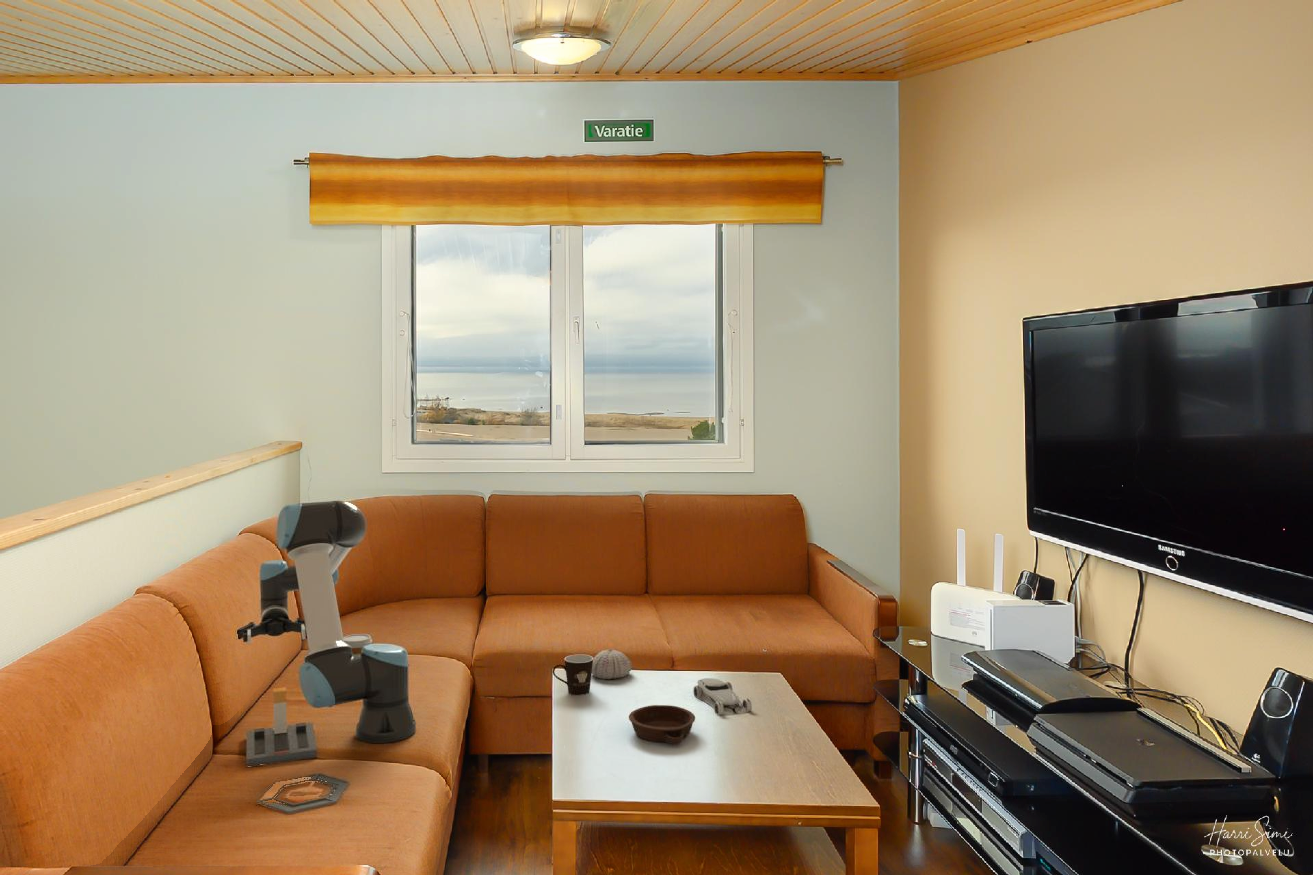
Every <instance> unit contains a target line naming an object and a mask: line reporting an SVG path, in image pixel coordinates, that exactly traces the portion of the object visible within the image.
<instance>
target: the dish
mask: <svg viewBox="0 0 1313 875" xmlns="http://www.w3.org/2000/svg"><path fill="white" fill-rule="evenodd" d="M628 720H629V721H630V722H631V726H632V728H633V730H634V733H635V734H636V735H637V736H638V737H639V738H641V739H644V740H646V741H651V742H663V743H664V742H666V743H669V744H671V745H679V744H681V743H682V742H683V739H685V738H686V737H687V736H688V735H689V734H690V732H691V730H692V728H693V724H694V722H696V716H695V714H694V713H693V712H692V711H690V710H688V709H686V708H684V707H680V706H676V705H669V704H668V705H666V704H665V705H663V704H662V705H661V704H660V705H659V704H652V705H646V706H642V707H640V708H636V709H635V710H633V711H631V712H630V713H629V714H628Z"/></svg>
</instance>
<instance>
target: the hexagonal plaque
mask: <svg viewBox="0 0 1313 875" xmlns="http://www.w3.org/2000/svg"><path fill="white" fill-rule="evenodd" d="M302 777H311V779H309V780H304V781H300V782H295V783H290V784H285V785H283V786H282V787H281V788H280V789H279V790H278V792H277V793H276V794H275V795H274V796H273V797H272V798H268V799H263V800H260V799H261V798H262V797H263V796H264V794H265V793H266V792H267V791H268V790H269V789H270V788H271V787H272V786H273V784H275V783H276V782H280V781H287V780H292V779H298V778H302ZM304 779H305V778H304ZM307 779H308V778H307ZM318 779H319V780H318ZM321 780H322V781H321ZM305 781H318V782H320V783H319V784H321V783H323V784H322V785H324V784H327V785H326V786H328V787H331V786H333V787H331V788H330V790H329V791H328V792H327V794H326V795H325V796H324V797H321V798H319V799H312V800H307V801H303V802H298V803H297V802H296V803H291V802H289V801H285V800H283V799H282V800H279V798H277V797H276V798H274V797H275V796H276V795H277V794H278V793H279V792H280V790H281V789H282V788H283V787H284V786H286V785H292V784H298V783H301V782H305ZM325 781H327V782H325ZM350 782H351V781H349V780H347V779H343V778H339V777H335V776H331V775H328V774H324V773H321V772H315V773H312V774H307V775H302V776H297V777H293V778H288V779H283V780H278V781H273V782H272V784H270V786H269V787H268V788H267V789H266V791H265V792H264V793H262V795H261V796H259V799H258V800H257V801H256V804H257V803H261V804H262V805H266V806H267V807H266V808H268V807H271V808H273V809H272V810H274V809H276V810H275V811H278V810H279V812H282V813H284V812H286V813H285V814H287V813H288V814H287V815H289V814H290V813H291V814H295V813H300V812H304V811H308V810H307V809H309V810H313V809H316V808H317V809H318V808H321V807H326V806H330V805H334V804H338V802H339V800H340V799H341V798H342V796H343V794H344V793H345V792H344V791H346V790H347V789H346V788H348V787H349V785H351V784H350ZM334 790H335V791H334ZM343 792H344V793H343ZM280 793H281V792H280ZM280 793H279V794H280ZM330 794H332V795H330ZM341 795H342V796H341ZM339 798H340V799H339ZM272 799H274V800H276V801H279V802H281V803H282V804H281V803H279V804H278V803H276V802H270V803H272V804H269V802H264V803H263V801H268V800H272ZM266 803H268V804H266ZM273 803H274V804H273ZM283 803H285V804H283ZM262 805H261V806H262ZM271 808H270V809H271ZM303 810H304V811H303ZM299 811H300V812H299ZM294 812H295V813H294Z"/></svg>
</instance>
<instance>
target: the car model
mask: <svg viewBox="0 0 1313 875" xmlns="http://www.w3.org/2000/svg"><path fill="white" fill-rule="evenodd" d="M696 682H697V683H696V684H697V685H694V686H693V696H694V697H695V698H696V699H697V700H700V701H703V702H705V703H706V704H707V705H709V706H710V707H712V709H714V712H715V714H716V715H717V716H734V714H737V715H744V714H746V713H749V712H751V711H752V709H753V704H752V700H751V699H750V698H746V697H745V698H744V699H742V702H741V700H740V698H738V695H736V693H735V692H734V691H733V690H734V689H733V685H732V683H731V682H729V681H726V682H724V681H723V680H721V679H717V678H714V677H712V678H711V677H707V678H700V679H697V681H696Z"/></svg>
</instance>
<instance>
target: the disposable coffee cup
mask: <svg viewBox="0 0 1313 875" xmlns="http://www.w3.org/2000/svg"><path fill="white" fill-rule="evenodd" d="M343 639H344V642H345V643H346V644H348V645H350V646H351V648H352V653H353V655H355V654H361V653H362V652H361V650H362V648H363V646H366V645H368V644H372V642H373V639H372V637H371V635H370V634H366V633H356V634H349V635H346V636H343Z"/></svg>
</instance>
